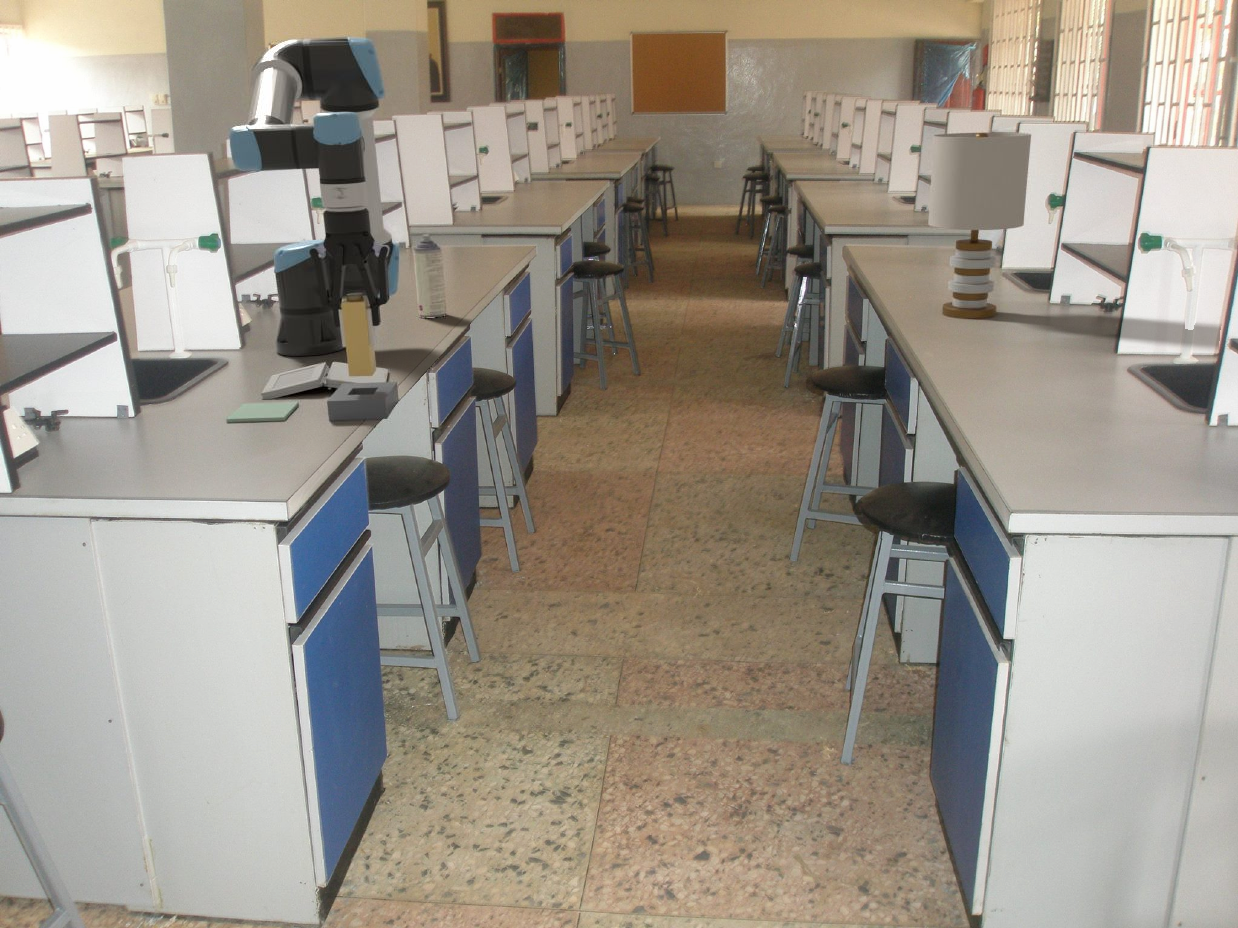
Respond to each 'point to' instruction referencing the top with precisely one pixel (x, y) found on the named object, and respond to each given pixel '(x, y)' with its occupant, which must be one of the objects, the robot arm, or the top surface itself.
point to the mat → (263, 412)
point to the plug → (357, 336)
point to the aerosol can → (429, 278)
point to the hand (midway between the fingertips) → (359, 344)
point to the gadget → (316, 379)
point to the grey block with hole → (363, 401)
